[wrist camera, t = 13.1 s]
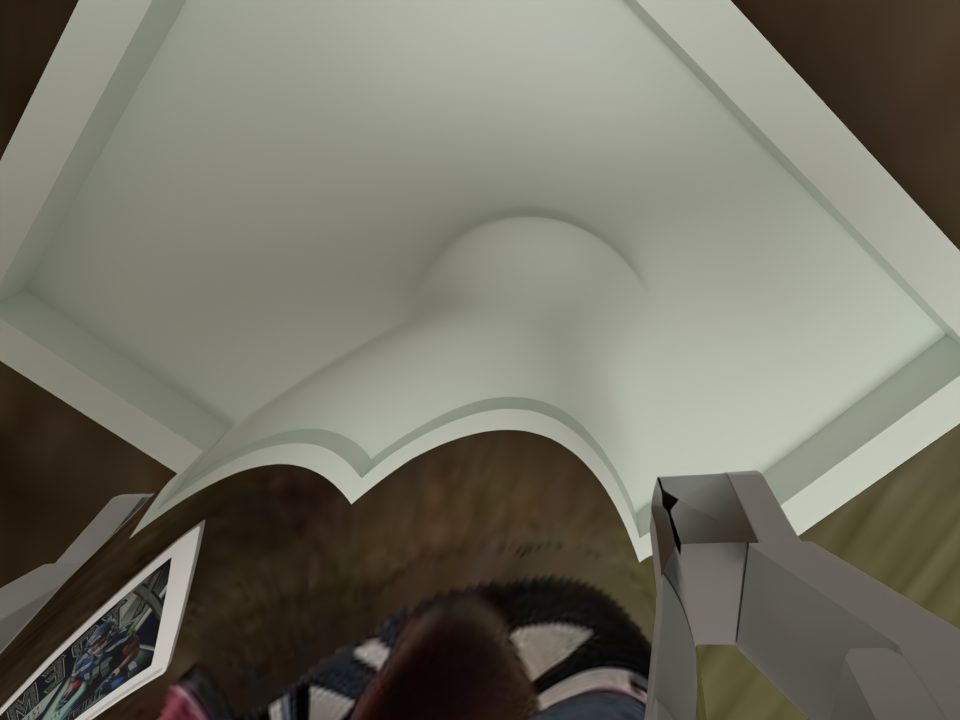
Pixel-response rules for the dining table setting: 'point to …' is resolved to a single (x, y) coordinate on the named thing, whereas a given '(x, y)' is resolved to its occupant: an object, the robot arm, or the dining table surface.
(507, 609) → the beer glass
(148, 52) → the tray
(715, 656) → the dining table surface
